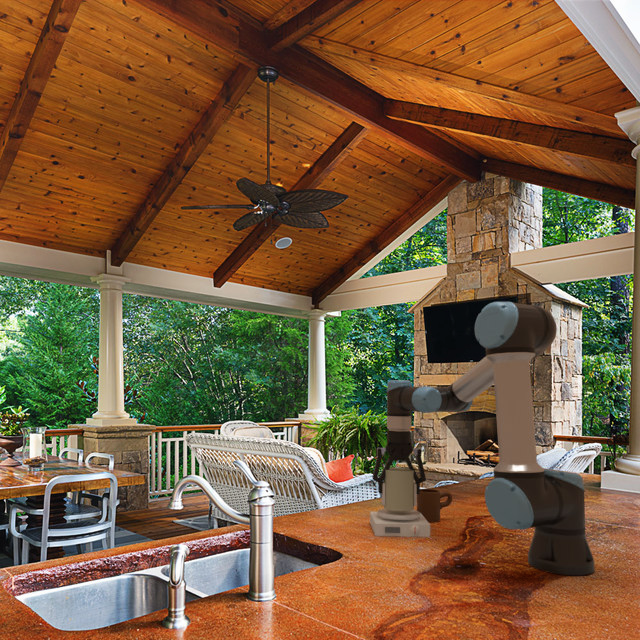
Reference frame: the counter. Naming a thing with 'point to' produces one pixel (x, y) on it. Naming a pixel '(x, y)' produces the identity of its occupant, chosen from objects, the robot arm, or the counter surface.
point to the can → (399, 489)
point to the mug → (432, 503)
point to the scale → (399, 523)
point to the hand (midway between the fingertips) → (398, 504)
